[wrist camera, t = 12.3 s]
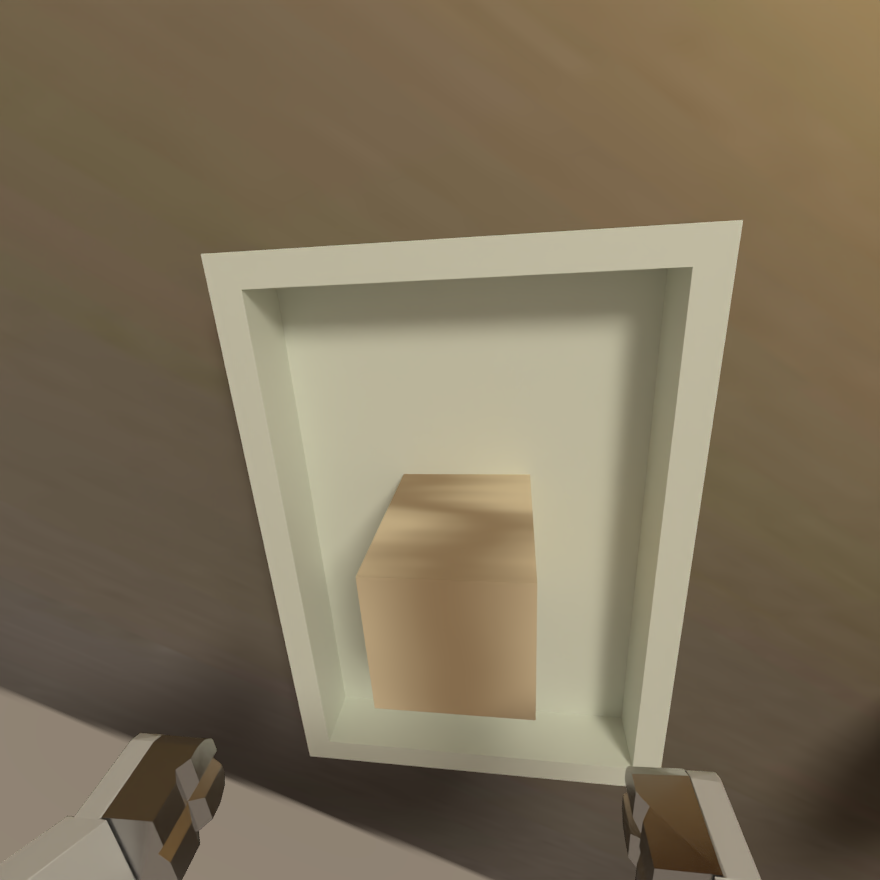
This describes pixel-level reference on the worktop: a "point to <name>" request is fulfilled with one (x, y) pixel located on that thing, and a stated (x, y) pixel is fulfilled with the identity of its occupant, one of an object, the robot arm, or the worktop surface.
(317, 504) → the shallow rimmed tray
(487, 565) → the birch block
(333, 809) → the worktop surface
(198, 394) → the worktop surface
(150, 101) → the worktop surface
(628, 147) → the worktop surface
